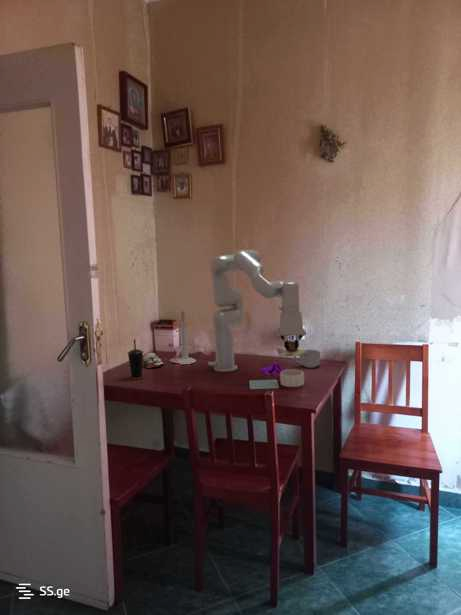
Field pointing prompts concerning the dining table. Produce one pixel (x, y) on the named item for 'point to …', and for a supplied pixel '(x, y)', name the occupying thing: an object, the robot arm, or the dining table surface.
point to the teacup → (310, 359)
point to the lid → (291, 350)
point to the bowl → (292, 378)
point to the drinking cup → (135, 362)
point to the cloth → (273, 369)
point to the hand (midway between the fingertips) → (291, 349)
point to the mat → (263, 384)
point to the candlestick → (184, 344)
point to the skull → (151, 359)
